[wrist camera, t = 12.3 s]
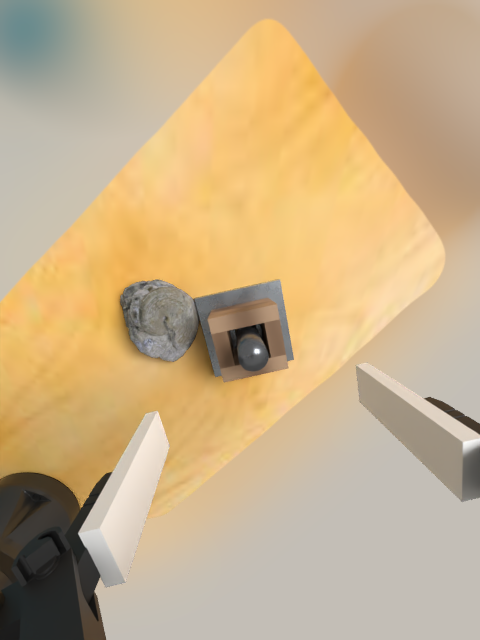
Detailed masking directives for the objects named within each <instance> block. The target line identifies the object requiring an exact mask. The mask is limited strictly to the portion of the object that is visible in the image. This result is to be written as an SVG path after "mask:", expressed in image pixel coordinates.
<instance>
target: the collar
mask: <svg viewBox="0 0 480 640" xmlns="http://www.w3.org/2000/svg"><path fill="white" fill-rule="evenodd" d="M207 320H208V323H209V327H210V331H211V335H212V339H213V343H214V347H215V351H216V355H217V358H218V362H219V366H220V370H221V374H222V378H223V382H228V381H233V380H237V379H242V378H246V377H251V376H256V375H260V374H265V373H269V372H274V371H278V370H283V369H287V368H288V363H287V357H286V351H285V346H284V340H283V335H282V329H281V323H280V318H279V312H278V307H277V304H276V303H275V302H274V301H272V300H271V299H269V298H263V299H259V300H254V301H250V302H245V303H241V304H236V305H232V306H227V307H223V308H218V309H214V310H211V313H210V315H209V317H208V319H207ZM256 324H260V326H261V331H262V336H263V341H264V342H263V343H264V345H265V347H266V349H267V352H268V355H269V359H268V362H267V364H266V366H265V367H264V368H263V369H261V370H259V371H255V372H251V371H247V370H245V369H244V368H243V367H242V366H241V365H240V363H239V360H238V350H237V348H234V346H233V342H232V337H231V333H230V330H233V329H238V328H242V327H247V326H252V325H256Z"/></svg>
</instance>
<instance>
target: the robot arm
mask: <svg viewBox="0 0 480 640" xmlns="http://www.w3.org/2000/svg"><path fill="white" fill-rule="evenodd" d="M356 372H357V381H358V391H359V400H360V403H361V404H363V406H364V407H365V408H367V410H369V411H370V412H371V413H372V414H373V415H374V416H375V417H376V418H377V419H378V420H379V421H380V422H381V423H382V424H383V425H384V426H385V427H386V428H387V429H388V430H389V431H390V432H391V433H392V434H393V435H394V436H395V437H396V438H397V439H398V440H399V441H401V443H402V444H403V445H404V446H405V447H406V448H407V449H409V450H410V452H412V453H413V454H414V455H415V456H416V457H417V458H418V459H419V460H420V461H421V462H422V463H423V464H424V465H425V466H426V467H427V468H428V469H429V470H430V471H431V472H432V473H433V474H434V475H435V476H436V477H437V478H438V479H439V480H440V481H441V482H442V483H443V484H444V485H445V486H446V487H447V488H448V489H450V491H452V492H453V493H454V494H455V495H456V496H457V497H458V498H459V499H460V500H461V501H462V502H463V501H468V500H472V499H476V498H480V424H479V423H477V422H476V421H474V420H472V419H471V418H469V417H467V416H465V415H464V414H463V413H461V412H459V411H458V410H455V409H454V408H453V407H451V406H449V405H448V404H446V403H444V402H442V401H439V400H436V399H434V398H431V397H428V398H422V397H420V396H419V395H417V394H416V393H414V392H412V391H411V390H409V389H408V388H406V387H405V386H403V385H402V384H400V383H399V382H397V381H395V380H394V379H392V378H391V377H389V376H387V375H386V374H385V373H383V372H381V371H380V370H378V369H377V368H375V367H374V366H372V365H370V364H369V363H362V364H358V365H356ZM169 447H170V445H169V442H168V439H167V437H166V434H165V431H164V428H163V425H162V422H161V419H160V416H159V413H158V411H154V412H150V413H146V414H145V416H144V418H143V419H142V421H141V423H140V425H139V427H138V428H137V430H136V432H135V434H134V435H133V437H132V439H131V441H130V442H129V444H128V446H127V448H126V449H125V451H124V453H123V455H122V457H121V458H120V460H119V462H118V464H117V465H116V467H115V469H114V471H113V472H110V473H106V474H105V475H104V476H103V477H102V478H101V479H100V480H99V482H98V483H97V484H96V485H95V487H94V488H93V490H92V492H91V493H90V495H89V498H87V500H86V501H85V503H84V505H83V507H82V508H81V510H80V508H79V504H78V501H77V499H76V497H75V496H74V494H73V493H72V492H71V491H70V490H69V489H68V488H67V487H66V486H65V485H63V484H62V483H61V482H59V481H57V480H55V479H53V478H51V477H48V476H45V475H41V474H36V473H17V474H13V475H9V476H6V477H4V478H2V479H0V640H106V636H105V632H104V627H103V622H102V617H101V613H100V608H99V604H98V598H97V595H96V594H95V592H94V590H95V588H96V585H97V583H98V581H99V578H100V577H101V579H102V581H103V583H104V585H105V587H110V586H113V585H117V584H122V583H126V580H127V576H128V574H129V571H130V568H131V565H132V561H133V558H134V555H135V552H136V549H137V546H138V543H139V540H140V537H141V534H142V530H143V527H144V524H145V521H146V518H147V515H148V512H149V509H150V506H151V503H152V500H153V497H154V493H155V490H156V487H157V484H158V481H159V478H160V475H161V472H162V469H163V466H164V463H165V459H166V456H167V453H168V450H169Z"/></svg>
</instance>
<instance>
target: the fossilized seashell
mask: <svg viewBox="0 0 480 640" xmlns="http://www.w3.org/2000/svg"><path fill="white" fill-rule="evenodd" d="M120 303H121V306H122V308H123V313H124V318H125V322H126V326H127V327H128V329H129V335H130V339H131V340H132V342H133V343H134V344H135V345H136V346H137V348H138V350H139V351H140V352H142V353H144V354H146V355H148V356H150V357H154V358H158V357H160V358H161V359H163V360H166V361H173V362H174V361H176V360H178V359H179V358H180V357H181V356H183V355H184V353H185V352H186V350H188V348H189V347H190V346H191V344H192V342H193V341H194V339H195V336H196V333H197V330H198V326H199V314H198V311H197V307H196V303H195V301H194V300H193V299H192V298H191V297H190V296H189V295H188V294H186V293H185V292H184V291H182V290H181V289H178V288H176V287H175V286H174V285H172V284H170V283H167V282H165V281H162V280H153V281H147V282H146V281H142V282H136V283H134V284H132V285H130V286H129V287H127V288H125V290H124V292H123V295H121V298H120Z"/></svg>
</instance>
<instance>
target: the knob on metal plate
mask: <svg viewBox="0 0 480 640" xmlns="http://www.w3.org/2000/svg"><path fill="white" fill-rule="evenodd" d="M263 298H269V299H271V300H272V301H274V302H275V303H276V304H277V307H278V312H279V318H280V323H281V329H282V335H283V340H284V346H285V351H286V357H287V361H290V360H294V357H293V352H292V346H291V340H290V334H289V329H288V323H287V317H286V311H285V306H284V300H283V294H282V288H281V282H280V280H279V279H278V280H273V281H269V282H264V283H260V284H255V285H251V286H246V287H242V288H237V289H233V290H228V291H224V292H220V293H215V294H211V295H206V296H202V297H197V298H195V303H196V307H197V311H198V314H199V318H200V322H201V326H202V329H203V333H204V337H205V340H206V344H207V348H208V352H209V355H210V359H211V363H212V367H213V370H214V374H215V377H218V376H222V374H221V370H220V366H219V362H218V358H217V355H216V351H215V347H214V343H213V339H212V335H211V331H210V327H209V323H208V320H207V319H208V317H209V315H210V313H211V310H214V309H218V308H223V307H227V306H232V305H236V304H241V303H245V302H250V301H254V300H259V299H263ZM230 333H231V337H232V342H233V346H234V348H237V350H238V360H239V363H240V365H241V366H242V367H243V368H244V369H245V370H247V371H251V372H255V371H259V370H261V369H263V368H264V367H265V366H266V364H267V362H268V359H269V355H268V352H267V349H266V347H265V345H264V343H263V342H264V341H263V336H262V331H261V326H260V324H256V325H252V326H247V327H242V328H238V329H233V330H230Z"/></svg>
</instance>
